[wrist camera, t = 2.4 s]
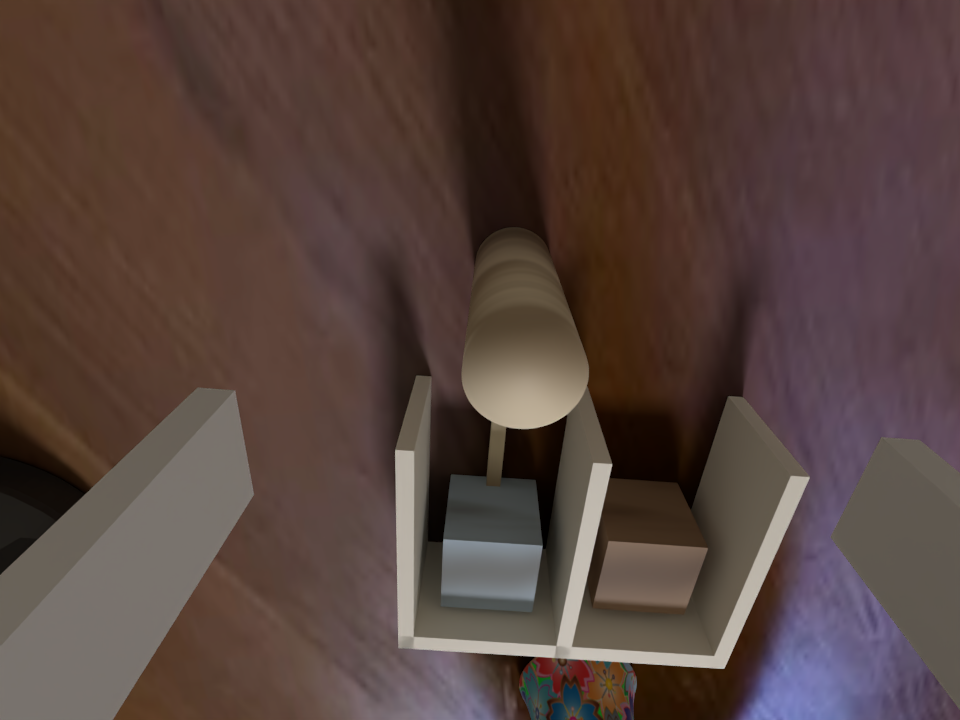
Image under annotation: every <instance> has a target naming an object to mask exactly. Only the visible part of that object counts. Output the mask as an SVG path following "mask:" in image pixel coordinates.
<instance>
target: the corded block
mask: <svg viewBox="0 0 960 720" xmlns="http://www.w3.org/2000/svg"><path fill="white" fill-rule="evenodd" d="M588 376H589V367H588V361H587V357H586V354H585V352H584V349H583V346H582V343H581V340H580V338H579V335H578V332H577V329H576V326H575V323H574V321H573V318H572V315H571V312H570V309H569V307H568V304H567V301H566V298H565V295H564V292H563V290H562V287H561V284H560V281H559V278H558V276H557V273H556V270H555V267H554V264H553V261H552V259H551V256H550V253H549V250H548V248H547V246H546V244H545V243H544V241H543V240H542V239H541V238H540V237H539V236H538V235H536V234H535V233H533V232H532V231H530V230H527V229H524V228H520V227H508V228H503V229H500V230H498V231H496V232H494V233H492V234H491V235H490V236H488V237H487V238H486V239H485V240H484V241H483V243H482V244H481V246H480V247H479V249H478V252H477V255H476V260H475V268H474V276H473V284H472V292H471V300H470V308H469V316H468V324H467V332H466V341H465V349H464V357H463V365H462V384H463V388H464V391H465V394H466V396H467V398H468V400H469V401H470V403H471V404H472V406H473V407H474V408H475V409H476V410H477V411H478V412H479V413H480V414H481V415H482V416H484V417H485V418H487V419H488V420H490V421H491V430H490V442H489V454H488V466H487V477H484V476H469V475H454V474H451V478H450V486H449V495H448V503H447V512H446V520H445V528H444V537H443V558H442V584H441V606H442V607H458V608H473V609H489V610H504V611H520V612H532V610H533V604H534V597H535V591H536V585H537V579H538V572H539V566H540V560H541V554H542V547H543V543H542V534H541V524H540V515H539V506H538V496H537V487H536V480H530V479H515V478H501V474H502V464H503V455H504V445H505V435H506V427H509V428H515V429H532V428H538V427H543V426H546V425H549V424H551V423H553V422H556V421H558V420H559V419H561V418H563V417H564V416H565V415H567V414H568V413H569V412H570V411H571V410H572V409H573V408H574V407H575V406H576V405H577V404H578V402H579V401H580V399H581V398H582V396H583V394H584V392H585V389H586V387H587V383H588Z"/></svg>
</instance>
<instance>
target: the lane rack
mask: <svg viewBox="0 0 960 720" xmlns="http://www.w3.org/2000/svg"><path fill="white" fill-rule="evenodd" d="M430 423H431V376H418V375H416V379H415V382H414V386H413V389H412V393H411V396H410V400H409V403H408V406H407V410H406V413H405V417H404V420H403V424H402V427H401V431H400V434H399V438H398V441H397V445H396V448H395V475H396V533H397V591H398V648H407V649H422V650H438V651H454V652H469V653H485V654H500V655H516V656H531V657H547V658H563V659H578V660H594V661H609V662H625V663H641V664H656V665H672V666H687V667H703V668H719V669H724V668H725V666H726V664H727V662H728V659H729V657H730V655H731V653H732V650H733V648H734V646H735V644H736V641H737V639H738V637H739V635H740V632H741V630H742V628H743V626H744V624H745V621H746V619H747V617H748V615H749V612H750V610H751V608H752V606H753V603H754V601H755V599H756V597H757V594H758V592H759V590H760V588H761V586H762V583H763V581H764V579H765V577H766V574H767V572H768V570H769V568H770V565H771V563H772V561H773V559H774V556H775V554H776V552H777V550H778V548H779V545H780V543H781V541H782V539H783V536H784V534H785V532H786V530H787V527H788V525H789V523H790V521H791V518H792V516H793V514H794V512H795V510H796V507H797V505H798V503H799V501H800V498H801V496H802V494H803V492H804V489H805V487H806V485H807V483H808V480H809V478H810V477H809V475H808V474H807V473H806V472H805V471H804V469H803V468H802V467H801V466H800V465H799V463H798V462H797V461H796V460H795V459H794V457H793V456H792V455H791V454H790V453H789V451H788V450H787V449H786V448H785V447H784V445H783V444H782V443H781V442H780V441H779V439H778V438H777V437H776V436H775V435H774V433H773V432H772V431H771V430H770V429H769V427H768V426H767V425H766V424H765V423H764V422H763V420H762V419H761V418H760V417H759V416H758V414H757V413H756V412H755V411H754V410H753V408H752V407H751V406H750V405H749V404H748V402H747V401H746V400H745V399H744V398H743V397H735V396H728V398H727V401H726V404H725V407H724V410H723V413H722V416H721V419H720V422H719V426H718V429H717V432H716V435H715V438H714V441H713V444H712V447H711V450H710V453H709V456H708V459H707V462H706V465H705V468H704V472H703V475H702V478H701V481H700V484H699V487H698V490H697V493H696V496H695V499H694V502H693V505H692V508H691V512H692V515H693V517H694V519H695V521H696V523H697V525H698V527H699V529H700V531H701V533H702V536H703V538H704V540H705V542H706V544H707V546H708V550H707V553H706V556H705V559H704V561H703V564H702V567H701V570H700V572H699V575H698V578H697V581H696V583H695V586H694V589H693V592H692V594H691V597H690V600H689V602H688V605H687V608H686V611H685V613H684V615H681V614H666V613H652V612H638V611H623V610H609V609H595V608H592V604H591V598H590V593H589V588H588V583H587V576H588V572H589V567H590V563H591V558H592V554H593V549H594V545H595V540H596V536H597V531H598V527H599V522H600V518H601V513H602V509H603V504H604V500H605V495H606V491H607V486H608V482H609V477H610V473H611V468H612V461H611V458H610V455H609V452H608V449H607V446H606V443H605V440H604V437H603V433H602V430H601V427H600V424H599V421H598V418H597V415H596V412H595V409H594V405H593V402H592V399H591V396H590V393H589V390H588V387H586V389H585V392H584V394H583V396H582V398H581V399H580V401H579V402H578V404H577V405H576V406H575V407H574V408H573V409H572V410H571V411H570V412H569V413H568V416H567V422H566V428H565V434H564V440H563V446H562V452H561V458H560V465H559V471H558V477H557V483H556V489H555V495H554V501H553V507H552V513H551V519H550V525H549V532H548V538H547V544H546V549H542V554H541V560H540V566H539V572H538V579H537V585H536V591H535V597H534V604H533V610H532V612H520V611H504V610H489V609H473V608H458V607H442V606H441V584H442V558H443V542H428V519H429V471H430Z"/></svg>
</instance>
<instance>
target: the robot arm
mask: <svg viewBox="0 0 960 720" xmlns="http://www.w3.org/2000/svg"><path fill="white" fill-rule="evenodd" d="M253 495H254V493H253V487H252V482H251V476H250V471H249V465H248V459H247V454H246V448H245V443H244V437H243V432H242V426H241V421H240V415H239V410H238V404H237V399H236V393H235V390H222V389H208V388H197V389H196V390H195V391H194V392H193V393H191V394H190V395H189V396H188V397H187V398H186V399H185V400H184V401H183V402H182V403H181V404H180V405H179V406H178V407H177V408H176V409H175V410H174V411H173V412H171V413H170V414H169V415H168V416H167V417H166V418H165V419H164V420H163V421H162V422H161V423H160V424H159V425H158V426H157V427H156V428H155V429H154V430H152V431H151V432H150V433H149V434H148V435H147V436H146V437H145V438H144V439H143V440H142V441H141V442H140V443H139V444H138V445H137V446H136V447H135V448H134V449H132V450H131V451H130V452H129V453H128V454H127V455H126V456H125V457H124V458H123V459H122V460H121V461H120V462H119V463H118V464H117V465H116V466H115V467H113V468H112V469H111V470H110V471H109V472H108V473H107V474H106V475H105V476H104V477H103V478H102V479H101V480H100V481H99V482H98V483H97V484H96V485H94V486H93V487H92V488H91V489H90V490H89V491H88V492H87V493H86V494H83V493H82V492H81V491H79V490H78V489H76V488H75V487H73V486H71V485H70V484H68V483H66V482H65V481H63V480H61V479H59V478H57V477H55V476H53V475H51V474H49V473H47V472H45V471H43V470H40V469H38V468H35V467H33V466H30V465H27V464H24V463H21V462H18V461H15V460H11V459H7V458H3V457H0V720H113V718H114V717H115V715H116V714H117V712H118V710H119V709H120V707H121V706H122V704H123V702H124V701H125V699H126V698H127V696H128V694H129V693H130V691H131V690H132V688H133V686H134V685H135V683H136V682H137V680H138V678H139V677H140V675H141V674H142V672H143V671H144V669H145V667H146V666H147V664H148V663H149V661H150V659H151V658H152V656H153V655H154V653H155V651H156V650H157V648H158V647H159V645H160V643H161V642H162V640H163V639H164V637H165V635H166V634H167V632H168V631H169V629H170V627H171V626H172V624H173V623H174V621H175V620H176V618H177V616H178V615H179V613H180V612H181V610H182V608H183V607H184V605H185V604H186V602H187V600H188V599H189V597H190V596H191V594H192V592H193V591H194V589H195V588H196V586H197V584H198V583H199V581H200V580H201V578H202V576H203V575H204V573H205V572H206V570H207V569H208V567H209V565H210V564H211V562H212V561H213V559H214V557H215V556H216V554H217V553H218V551H219V549H220V548H221V546H222V545H223V543H224V541H225V540H226V538H227V537H228V535H229V533H230V532H231V530H232V529H233V527H234V525H235V524H236V522H237V521H238V519H239V518H240V516H241V514H242V513H243V511H244V510H245V508H246V506H247V505H248V503H249V502H250V500H251V498H252V497H253ZM831 538H832V540H833V541H834V542H835V544H836V545H837V546H838V548H839V549H840V550H841V552H842V553H843V554H844V556H845V557H846V558H847V560H848V561H849V562H850V564H851V565H852V566H853V568H854V569H855V570H856V572H857V573H858V574H859V576H860V577H861V578H862V580H863V581H864V582H865V584H866V585H867V586H868V588H869V589H870V590H871V592H872V593H873V594H874V596H875V597H876V598H877V600H878V601H879V602H880V604H881V605H882V606H883V608H884V609H885V610H886V612H887V613H888V615H889V616H890V617H891V619H892V620H893V621H894V623H895V624H896V625H897V627H898V628H899V629H900V631H901V632H902V633H903V635H904V636H905V637H906V639H907V640H908V641H909V643H910V644H911V645H912V647H913V648H914V649H915V651H916V652H917V653H918V655H919V656H920V657H921V659H922V660H923V661H924V663H925V664H926V665H927V667H928V668H929V669H930V671H931V672H932V673H933V675H934V676H935V677H936V679H937V680H938V681H939V683H940V684H941V685H942V687H943V688H944V689H945V691H946V692H947V693H948V695H949V696H950V697H951V699H952V700H953V701H954V703H955V704H956V705H957V707H958V708H959V709H960V473H959V472H958V471H957V470H955V469H954V468H953V467H952V466H950V465H949V464H948V463H947V462H946V461H944V460H943V459H942V458H941V457H939V456H938V455H937V454H936V453H935V452H933V451H932V450H931V449H930V448H928V447H927V446H926V445H925V444H924V443H922V442H921V441H920V440H911V439H897V438H884V437H881V439H880V441H879V443H878V445H877V447H876V449H875V451H874V453H873V455H872V457H871V459H870V461H869V463H868V465H867V467H866V469H865V471H864V473H863V474H862V476H861V478H860V480H859V482H858V484H857V486H856V488H855V490H854V492H853V494H852V496H851V498H850V500H849V502H848V504H847V506H846V508H845V510H844V512H843V514H842V516H841V518H840V520H839V522H838V524H837V526H836V528H835V530H834V532H833V534H832V535H831Z"/></svg>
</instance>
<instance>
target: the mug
mask: <svg viewBox="0 0 960 720" xmlns="http://www.w3.org/2000/svg"><path fill="white" fill-rule="evenodd" d="M519 687H520V692H521V695H522V697H523V699H524V701H525V703H526V705H527V707H528V710H529V713H530V716H531V720H634V714H633V704H634V695H635V691H636V687H637V680H636V675H635V672H634V670H633V668H632V667H631V665H630V664H629V663H625V662H609V661H594V660H578V659H563V658H547V657H535V658H534V659H532V660H531V661H530V662H529V663H528V664H527V665H526V667H525V668H524V670H523V672H522V674H521V676H520V682H519Z"/></svg>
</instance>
